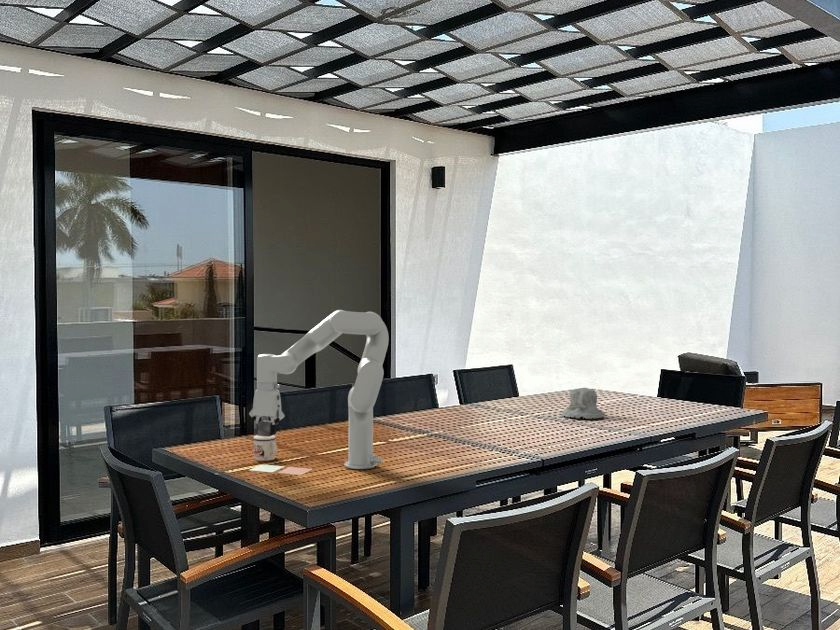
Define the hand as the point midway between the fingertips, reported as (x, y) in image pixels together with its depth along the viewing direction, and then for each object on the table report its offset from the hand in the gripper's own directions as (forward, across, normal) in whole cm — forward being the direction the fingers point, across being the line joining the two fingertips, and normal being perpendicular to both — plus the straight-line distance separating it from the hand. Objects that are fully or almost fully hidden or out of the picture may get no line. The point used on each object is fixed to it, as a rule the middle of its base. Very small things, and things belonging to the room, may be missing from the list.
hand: (266, 433), depth 304 cm
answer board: (+14, -6, 0) cm, 15 cm away
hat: (+13, -99, -169) cm, 196 cm away
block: (+1, 0, 0) cm, 1 cm away
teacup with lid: (+14, +8, -16) cm, 23 cm away
